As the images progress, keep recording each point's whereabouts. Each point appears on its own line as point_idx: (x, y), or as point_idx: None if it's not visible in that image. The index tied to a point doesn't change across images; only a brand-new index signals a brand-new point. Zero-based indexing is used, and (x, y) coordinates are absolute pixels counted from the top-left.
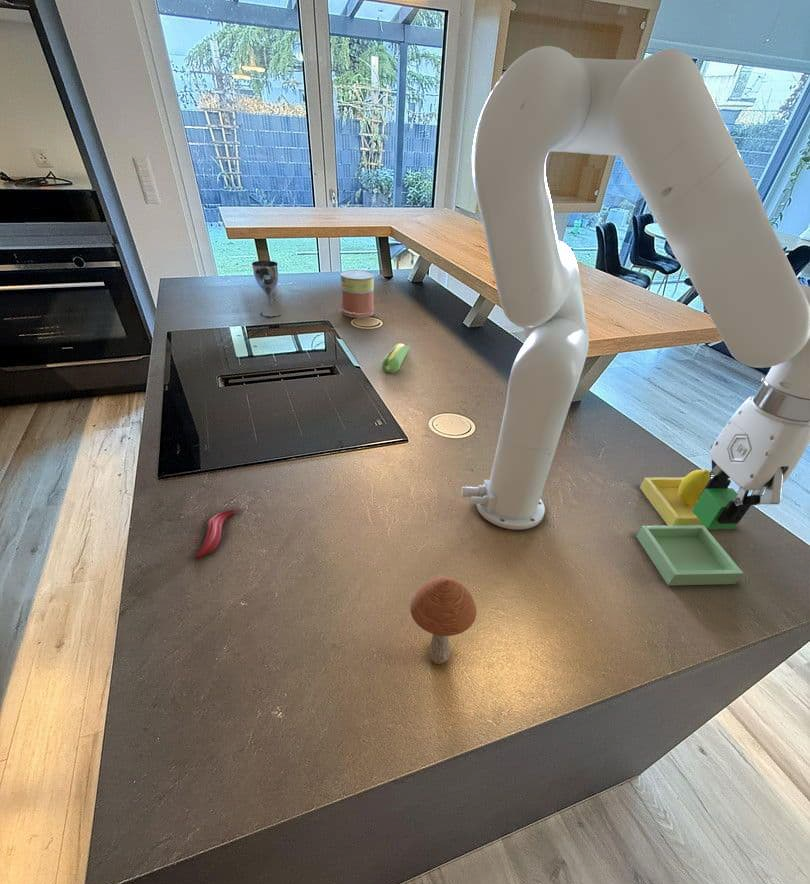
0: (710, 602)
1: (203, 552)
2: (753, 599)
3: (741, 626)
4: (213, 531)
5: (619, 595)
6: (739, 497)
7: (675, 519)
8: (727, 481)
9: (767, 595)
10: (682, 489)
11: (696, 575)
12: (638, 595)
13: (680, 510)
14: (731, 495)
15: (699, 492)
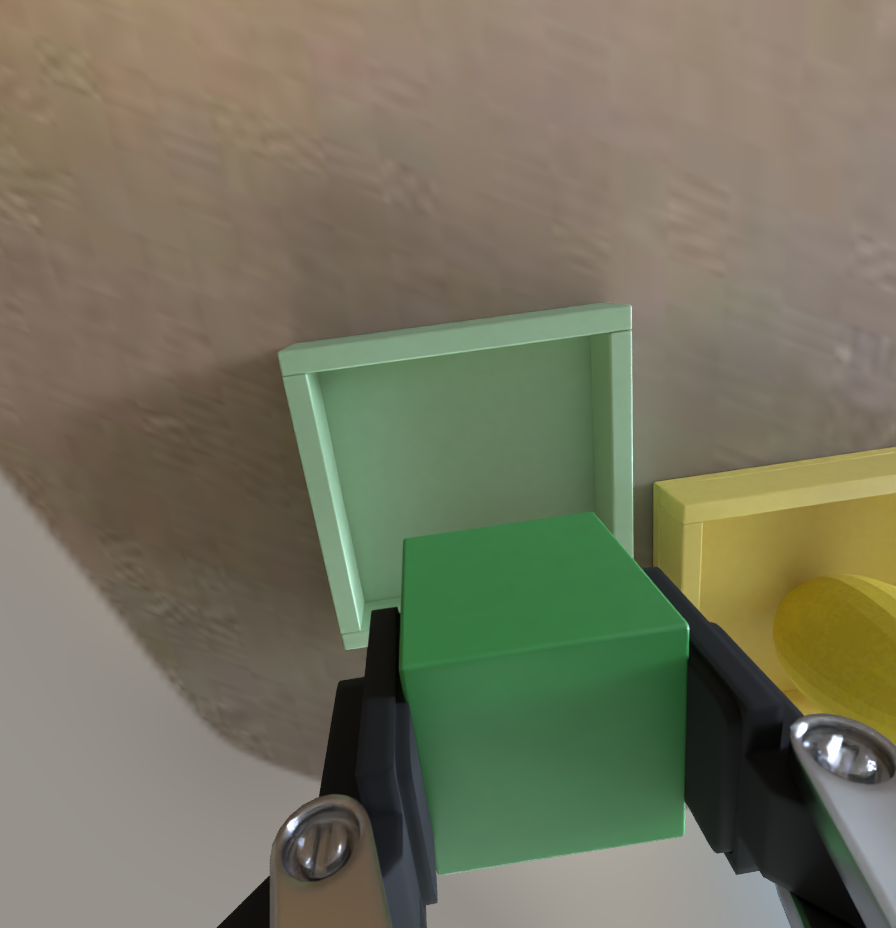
0: (231, 488)
1: None
2: (283, 643)
3: (130, 554)
4: None
5: (173, 58)
6: (327, 890)
7: (682, 502)
8: (737, 844)
9: (313, 693)
10: (869, 590)
11: (302, 459)
12: (198, 171)
13: (760, 560)
14: (581, 798)
15: (826, 652)
